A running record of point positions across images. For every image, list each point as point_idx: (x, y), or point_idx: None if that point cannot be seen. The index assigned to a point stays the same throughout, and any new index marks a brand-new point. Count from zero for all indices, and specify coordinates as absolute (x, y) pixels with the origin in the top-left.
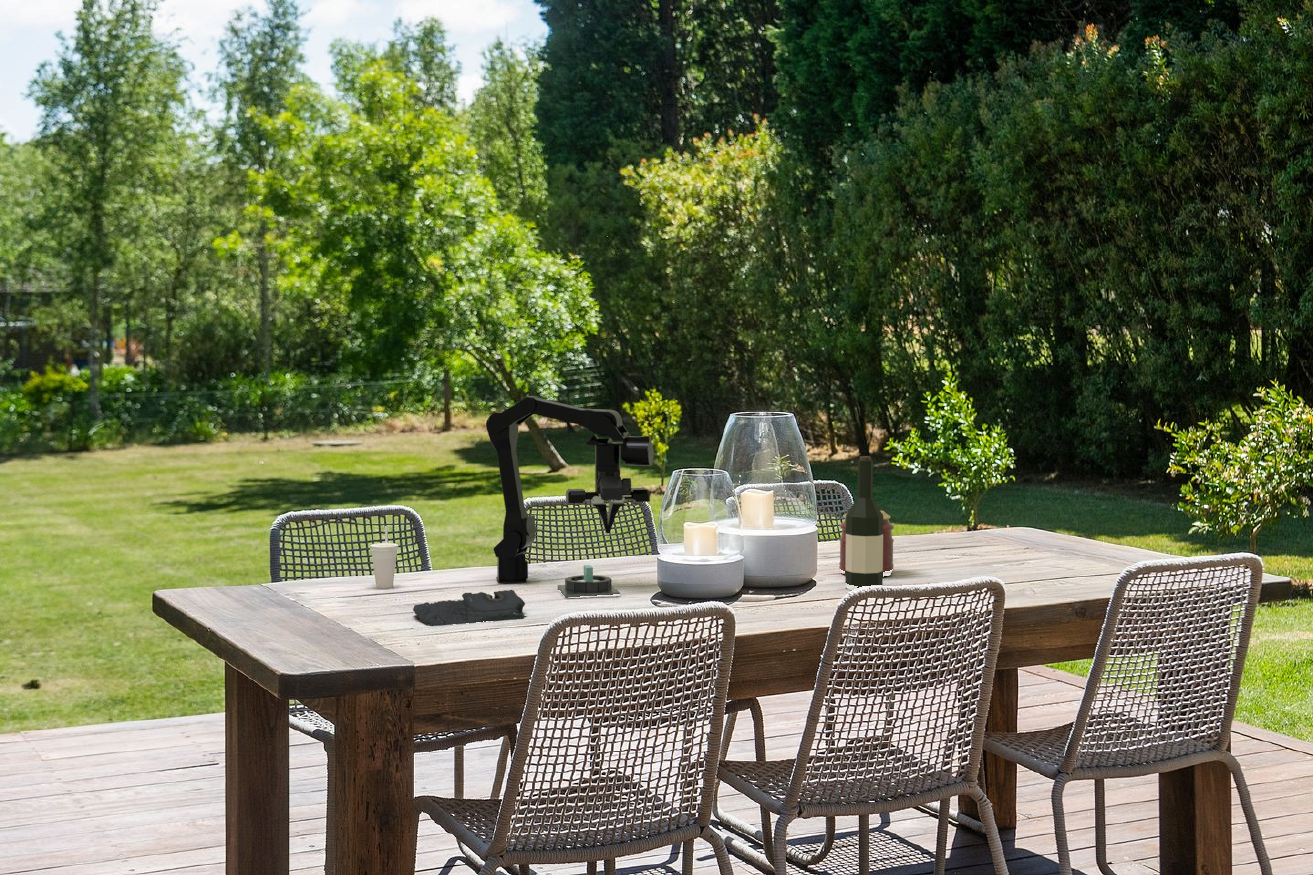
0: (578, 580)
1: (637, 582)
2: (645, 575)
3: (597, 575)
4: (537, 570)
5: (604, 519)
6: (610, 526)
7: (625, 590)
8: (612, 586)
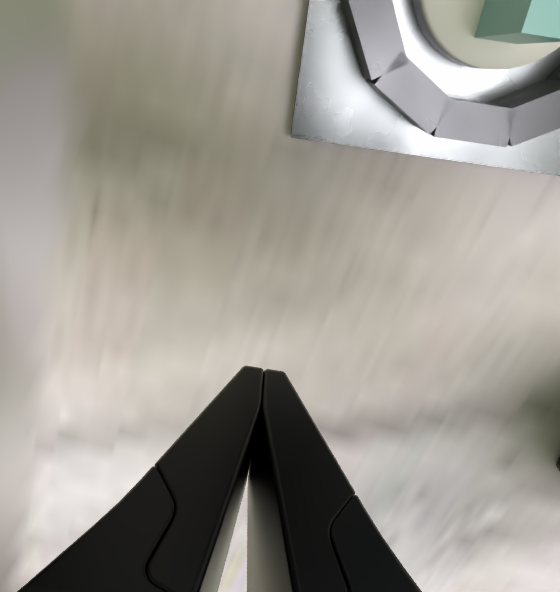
0: (554, 45)
1: (111, 240)
2: (48, 388)
3: (396, 102)
4: (417, 572)
5: (324, 491)
6: (231, 403)
7: (232, 4)
8: (316, 8)
